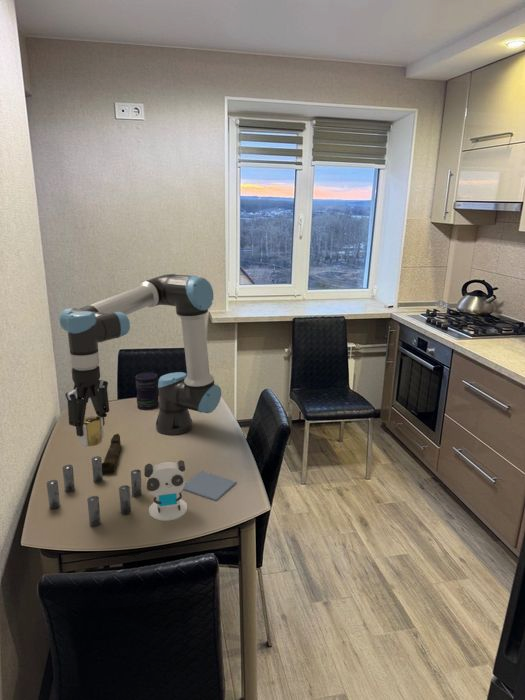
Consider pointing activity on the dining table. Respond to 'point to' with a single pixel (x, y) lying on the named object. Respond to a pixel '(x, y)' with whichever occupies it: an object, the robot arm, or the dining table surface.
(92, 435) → the gold metal cylinder
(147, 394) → the storage jar
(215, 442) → the dining table surface
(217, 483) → the slate board
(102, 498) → the dining table surface
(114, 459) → the hand tool
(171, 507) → the panda figurine
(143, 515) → the dining table surface
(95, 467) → the spacer posts
